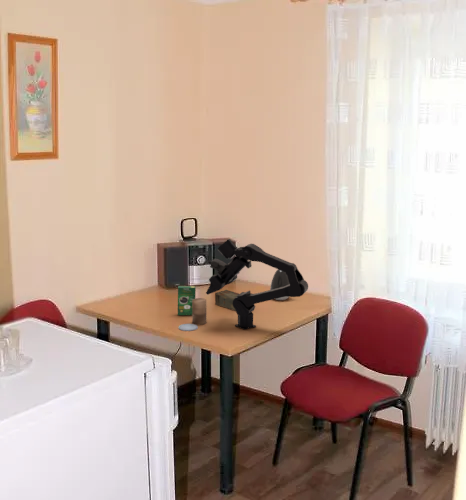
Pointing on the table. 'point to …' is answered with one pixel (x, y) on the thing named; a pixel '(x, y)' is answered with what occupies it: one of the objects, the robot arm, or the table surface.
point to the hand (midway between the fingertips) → (211, 291)
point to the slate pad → (188, 327)
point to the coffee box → (185, 299)
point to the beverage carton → (225, 299)
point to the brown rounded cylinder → (199, 311)
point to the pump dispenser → (279, 281)
